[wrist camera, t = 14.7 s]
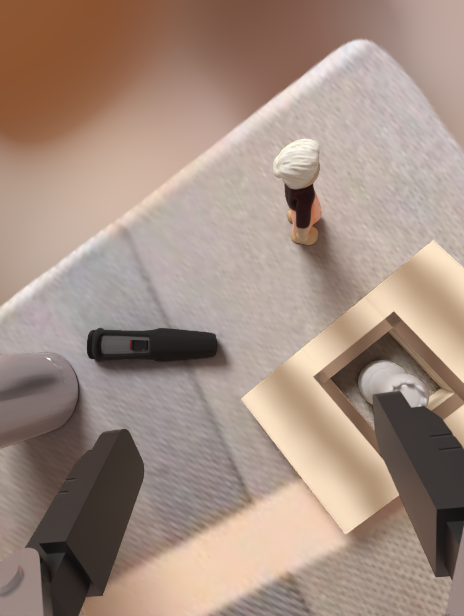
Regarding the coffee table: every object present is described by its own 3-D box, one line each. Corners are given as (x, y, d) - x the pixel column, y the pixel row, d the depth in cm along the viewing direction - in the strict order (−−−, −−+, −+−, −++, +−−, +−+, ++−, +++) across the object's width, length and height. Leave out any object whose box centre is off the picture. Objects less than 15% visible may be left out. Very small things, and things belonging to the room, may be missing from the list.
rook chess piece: (394, 351, 30) (424, 356, 23) (417, 397, 30) (456, 418, 22) (348, 370, 31) (363, 380, 23) (370, 414, 30) (392, 440, 23)
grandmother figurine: (333, 247, 33) (349, 191, 20) (295, 260, 33) (290, 213, 21) (308, 179, 34) (309, 88, 22) (273, 193, 35) (254, 113, 22)
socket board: (341, 515, 30) (345, 534, 27) (246, 393, 33) (240, 399, 30) (543, 366, 28) (571, 369, 25) (421, 249, 31) (433, 240, 28)
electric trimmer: (223, 363, 35) (215, 365, 31) (94, 360, 38) (75, 362, 35) (224, 328, 35) (216, 327, 32) (95, 328, 38) (77, 327, 35)
